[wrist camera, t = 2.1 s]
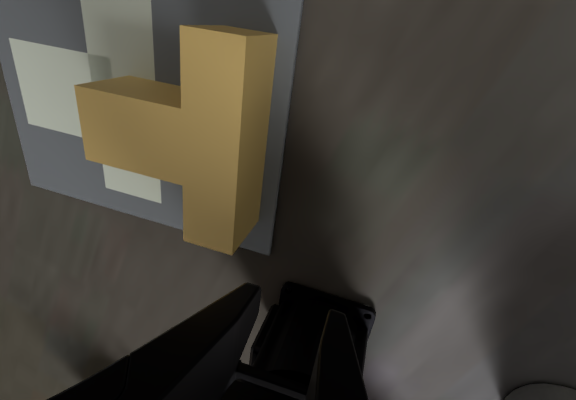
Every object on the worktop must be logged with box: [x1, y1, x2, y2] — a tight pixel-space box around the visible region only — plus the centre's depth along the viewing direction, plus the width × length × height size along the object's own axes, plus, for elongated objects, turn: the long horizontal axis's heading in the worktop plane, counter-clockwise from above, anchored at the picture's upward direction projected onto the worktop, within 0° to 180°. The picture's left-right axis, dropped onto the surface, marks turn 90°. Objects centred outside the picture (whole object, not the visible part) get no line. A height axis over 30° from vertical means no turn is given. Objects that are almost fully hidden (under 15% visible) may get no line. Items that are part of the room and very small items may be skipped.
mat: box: [0, 0, 304, 256], centre depth 22 cm, size 20×16×1 cm
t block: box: [74, 25, 278, 255], centre depth 19 cm, size 9×11×4 cm
